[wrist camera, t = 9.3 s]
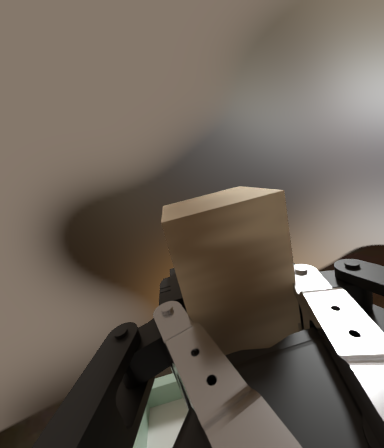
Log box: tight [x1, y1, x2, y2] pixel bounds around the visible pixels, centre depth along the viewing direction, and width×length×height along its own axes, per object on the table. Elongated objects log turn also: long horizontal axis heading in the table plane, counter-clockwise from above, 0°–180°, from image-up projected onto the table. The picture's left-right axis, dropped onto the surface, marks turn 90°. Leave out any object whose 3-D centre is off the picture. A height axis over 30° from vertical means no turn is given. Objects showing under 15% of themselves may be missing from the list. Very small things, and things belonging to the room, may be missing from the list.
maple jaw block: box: [161, 186, 301, 355], centre depth 11 cm, size 4×4×12 cm
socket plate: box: [133, 374, 188, 448], centre depth 19 cm, size 12×12×4 cm
